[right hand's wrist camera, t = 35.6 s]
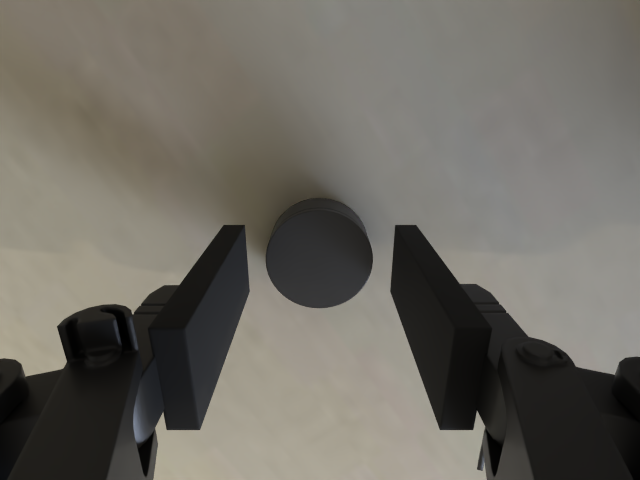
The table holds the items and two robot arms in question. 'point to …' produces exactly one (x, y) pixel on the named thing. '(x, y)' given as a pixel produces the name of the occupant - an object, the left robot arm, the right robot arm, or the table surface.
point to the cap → (319, 253)
